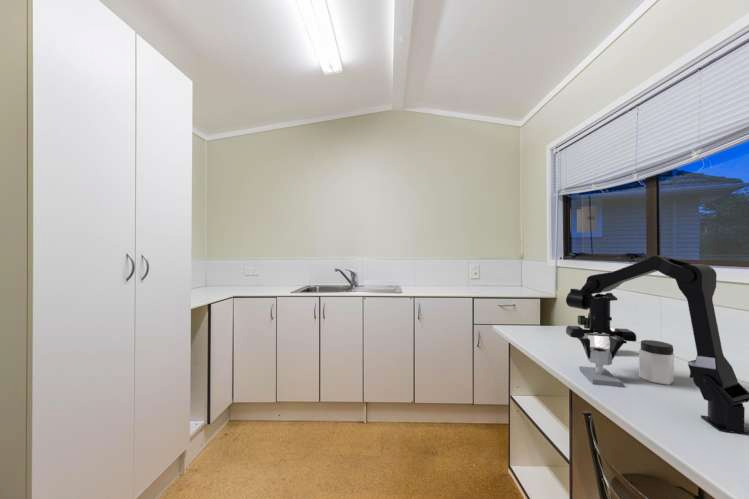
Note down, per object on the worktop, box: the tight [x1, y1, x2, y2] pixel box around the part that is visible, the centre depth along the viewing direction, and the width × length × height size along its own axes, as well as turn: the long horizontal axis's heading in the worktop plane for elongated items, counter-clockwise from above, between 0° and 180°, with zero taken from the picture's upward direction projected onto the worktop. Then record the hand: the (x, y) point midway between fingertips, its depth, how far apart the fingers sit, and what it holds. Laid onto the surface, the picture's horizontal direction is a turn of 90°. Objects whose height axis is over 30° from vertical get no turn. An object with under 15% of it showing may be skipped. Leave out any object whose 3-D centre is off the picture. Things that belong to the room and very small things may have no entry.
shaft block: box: [578, 364, 623, 388], centre depth 108 cm, size 12×8×6 cm, turn 165°
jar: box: [638, 339, 675, 386], centre depth 107 cm, size 9×8×12 cm
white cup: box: [593, 327, 615, 350], centre depth 133 cm, size 8×8×10 cm
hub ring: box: [587, 346, 613, 366], centre depth 108 cm, size 6×6×4 cm
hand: (599, 358), depth 108 cm, fingers closed on hub ring, 6 cm apart
